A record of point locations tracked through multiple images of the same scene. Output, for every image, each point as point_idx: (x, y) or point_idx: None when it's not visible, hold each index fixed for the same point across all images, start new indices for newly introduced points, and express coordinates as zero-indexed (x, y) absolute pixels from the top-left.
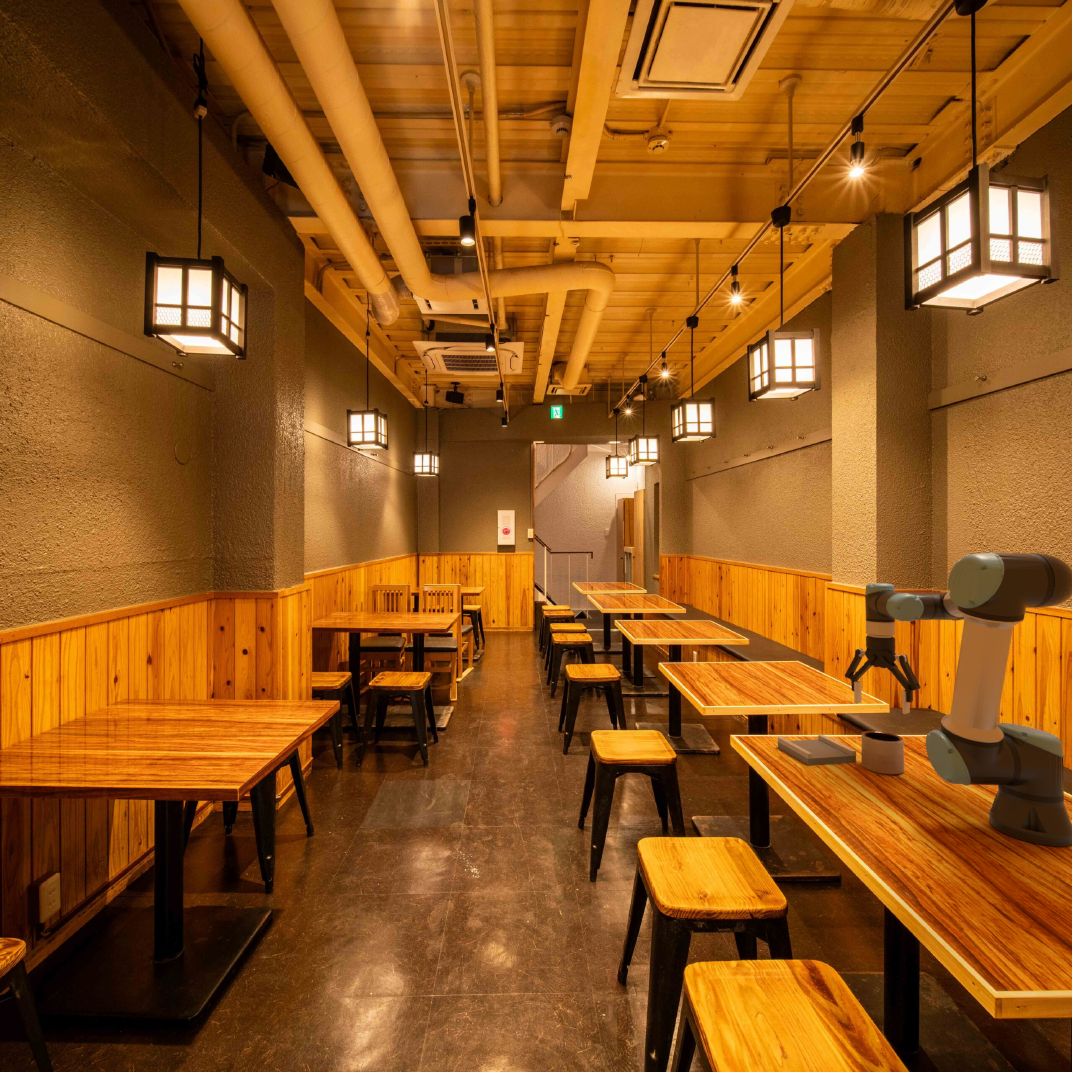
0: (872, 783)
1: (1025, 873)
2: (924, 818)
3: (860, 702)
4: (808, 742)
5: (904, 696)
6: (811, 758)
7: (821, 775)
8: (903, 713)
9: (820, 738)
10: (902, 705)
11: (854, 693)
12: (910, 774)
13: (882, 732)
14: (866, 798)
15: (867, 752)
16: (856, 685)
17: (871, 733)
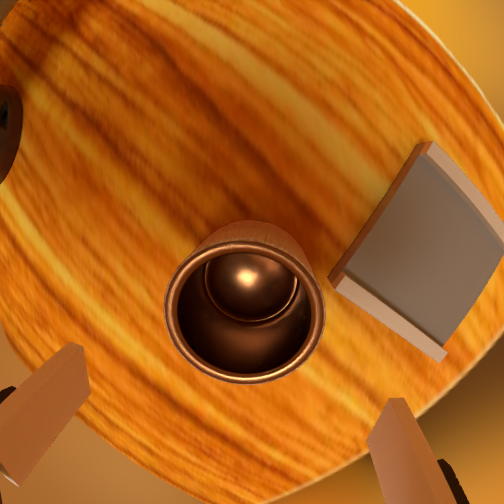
0: (231, 123)
1: (14, 9)
2: (98, 27)
3: (371, 432)
4: (459, 299)
5: (1, 407)
6: (420, 151)
7: (359, 87)
8: (77, 346)
9: (439, 345)
10: (53, 373)
11: (427, 443)
12: None
13: (260, 375)
14: (210, 19)
15: (281, 236)
16: (436, 498)
17: (296, 349)
